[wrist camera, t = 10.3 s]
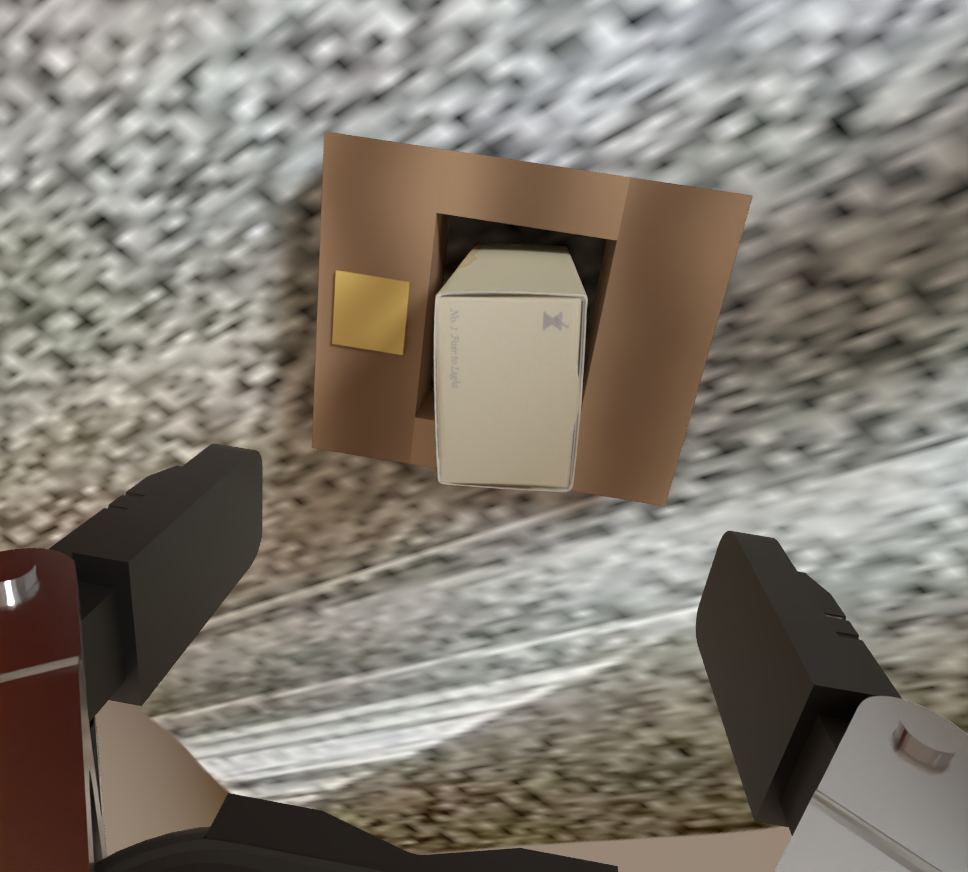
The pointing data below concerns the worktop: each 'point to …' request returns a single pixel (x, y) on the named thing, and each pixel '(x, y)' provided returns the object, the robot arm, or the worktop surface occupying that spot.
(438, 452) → the skincare box
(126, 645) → the robot arm
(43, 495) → the worktop surface
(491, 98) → the worktop surface
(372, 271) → the brown square frame block
